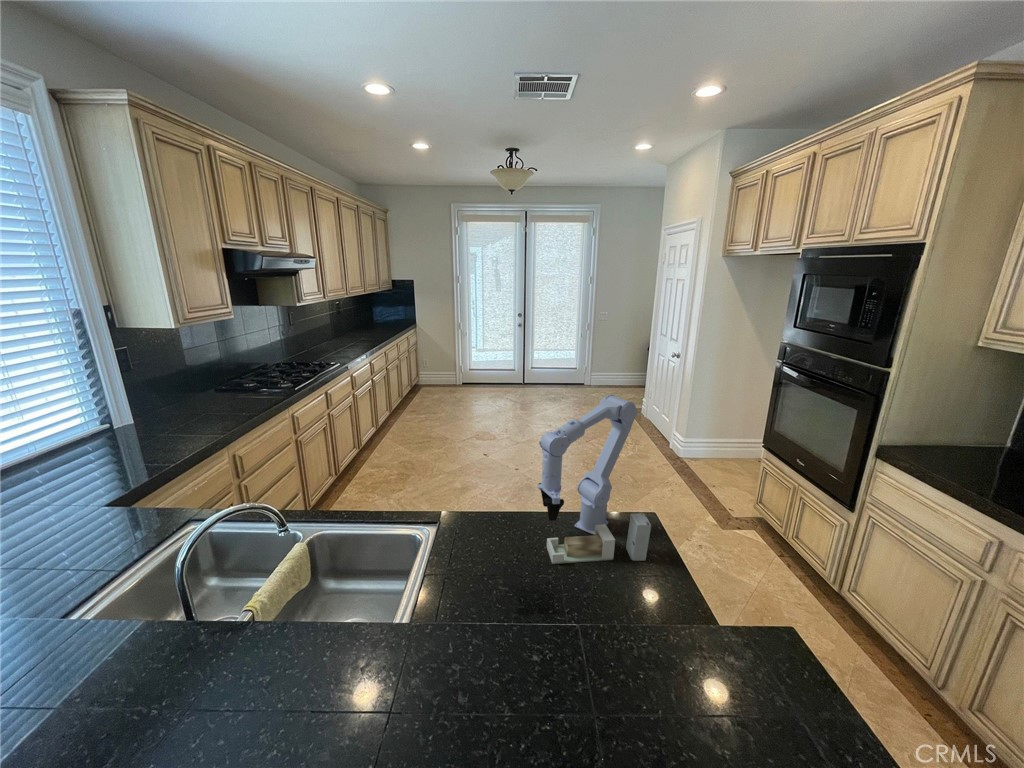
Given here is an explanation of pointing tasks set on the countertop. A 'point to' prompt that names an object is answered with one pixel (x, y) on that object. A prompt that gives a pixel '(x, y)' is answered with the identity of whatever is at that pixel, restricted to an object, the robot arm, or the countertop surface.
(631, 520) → the skincare box
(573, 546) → the tan rectangular block
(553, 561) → the endcap rail
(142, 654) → the countertop surface
